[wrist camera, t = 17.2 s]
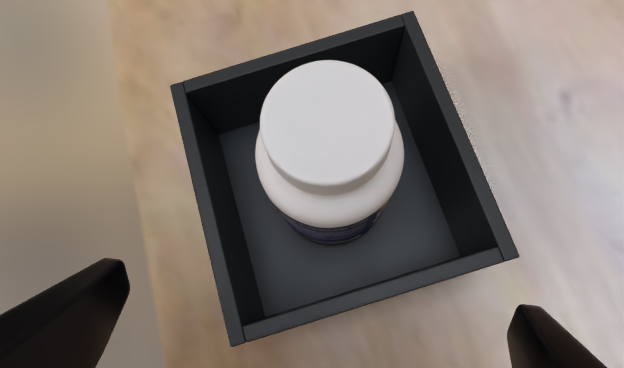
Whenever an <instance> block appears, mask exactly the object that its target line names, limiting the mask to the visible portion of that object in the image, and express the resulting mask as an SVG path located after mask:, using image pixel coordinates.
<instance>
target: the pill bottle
mask: <svg viewBox="0 0 624 368" xmlns="http://www.w3.org/2000/svg"><path fill="white" fill-rule="evenodd" d="M255 160H256V167H257V171H258V175H259V179H260V181H261V183H262V186H263V188H264V190H265V192H266V193H267V195H268V197H269V199H270V200H271V201H272V203H273V204H274V205H275V206H276V208H277V209H278V210H279V212H280V213H281V214H282V216H283V217H284V218H285V220H286V221H287V223H288V224H289V225H290V226H291V227H292V228H293V230H295V231H296V232H297V233H298V234H299V235H301V236H302V237H304V238H305V239H307V240H309V241H311V242H314V243H317V244H320V245H326V246H337V245H343V244H347V243H350V242H353V241H355V240H357V239H359V238H360V237H362V236H363V235H365V234H366V233H367V232H368V231H369V230H370V229H371V228H372V227H373V226H374V225H375V224H376V222H377V221H378V219H379V218H380V216H381V214H382V212H383V211H384V209H385V208H386V206H387V204H388V202H389V200H390V198H391V196H392V194H393V193H394V191H395V189H396V187H397V185H398V182H399V179H400V176H401V173H402V170H403V163H404V146H403V140H402V136H401V133H400V130H399V127H398V125H397V122H396V120H395V115H394V109H393V106H392V102H391V100H390V98H389V95H388V94H387V92H386V90H385V89H384V87H383V86H382V85H381V84H380V82H379V81H378V80H377V79H376V78H375V77H374V76H372V75H371V74H370V73H368V72H367V71H366V70H364V69H362V68H360V67H358V66H356V65H353V64H350V63H347V62H343V61H337V60H321V61H314V62H310V63H307V64H304V65H301V66H299V67H297V68H295V69H293V70H291V71H290V72H288V73H287V74H285V75H284V76H283V77H282V78H281V79H279V80H278V82H277V83H276V84H275V85H274V86H273V87H272V89H271V90H270V92H269V93H268V95H267V97H266V99H265V101H264V103H263V106H262V110H261V115H260V130H259V133H258V137H257V141H256V149H255Z"/></svg>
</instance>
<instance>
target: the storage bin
mask: <svg viewBox="0 0 624 368" xmlns="http://www.w3.org/2000/svg"><path fill="white" fill-rule="evenodd" d="M321 60H337V61H343V62H347V63H350V64H353V65H356V66H358V67H360V68H362V69H364V70H366V71H367V72H368V73H370V74H371V75H372V76H374V77H375V78H376V79H377V80H378V81H379V82H380V84H381V85H382V86H383V87H384V89H385V90H386V92H387V94H388V95H389V98H390V100H391V102H392V106H393V109H394V115H395V120H396V122H397V125H398V127H399V130H400V133H401V136H402V140H403V146H404V163H403V170H402V173H401V176H400V179H399V182H398V185H397V187H396V189H395V191H394V193H393V194H392V196H391V198H390V200H389V202H388V204H387V206H386V208H385V209H384V211H383V212H382V214H381V216H380V218H379V219H378V221H377V222H376V224H375V225H374V226H373V227H372V228H371V229H370V230H369V231H368V232H367V233H366V234H365V235H363V236H362V237H360V238H359V239H357V240H355V241H353V242H350V243H347V244H343V245H337V246H326V245H320V244H317V243H314V242H311V241H309V240H307V239H305V238H304V237H302V236H301V235H299V234H298V233H297V232H296V231H295V230H293V228H292V227H291V226H290V225H289V224H288V223H287V221H286V220H285V218H284V217H283V216H282V214H281V213H280V212H279V210H278V209H277V208H276V206H275V205H274V204H273V203H272V201H271V200H270V199H269V197H268V195H267V193H266V192H265V190H264V188H263V186H262V183H261V181H260V179H259V175H258V171H257V167H256V160H255V149H256V141H257V137H258V133H259V130H260V115H261V110H262V106H263V103H264V101H265V99H266V97H267V95H268V93H269V92H270V90H271V89H272V87H273V86H274V85H275V84H276V83H277V82H278V80H279V79H281V78H282V77H283V76H284V75H285V74H287V73H288V72H290V71H291V70H293V69H295V68H297V67H299V66H301V65H304V64H307V63H310V62H314V61H321ZM170 88H171V92H172V96H173V101H174V105H175V109H176V114H177V118H178V122H179V127H180V131H181V135H182V140H183V144H184V148H185V153H186V157H187V161H188V165H189V170H190V174H191V178H192V183H193V187H194V191H195V196H196V200H197V204H198V209H199V213H200V217H201V221H202V226H203V230H204V234H205V239H206V243H207V247H208V252H209V256H210V260H211V265H212V269H213V273H214V278H215V282H216V286H217V290H218V295H219V299H220V303H221V308H222V312H223V316H224V321H225V325H226V329H227V334H228V338H229V342H230V346H231V347H234V346H237V345H240V344H244V343H246V342H250V341H253V340H256V339H260V338H263V337H266V336H269V335H272V334H276V333H279V332H282V331H285V330H288V329H292V328H295V327H298V326H301V325H304V324H307V323H311V322H314V321H317V320H320V319H323V318H327V317H330V316H333V315H336V314H339V313H343V312H346V311H349V310H352V309H355V308H358V307H362V306H365V305H368V304H371V303H374V302H378V301H381V300H384V299H387V298H390V297H394V296H397V295H400V294H403V293H406V292H409V291H413V290H416V289H419V288H422V287H425V286H429V285H432V284H435V283H438V282H441V281H445V280H448V279H451V278H454V277H457V276H460V275H464V274H467V273H470V272H473V271H476V270H480V269H483V268H486V267H489V266H492V265H496V264H499V263H502V262H505V261H508V260H512V259H515V258H518V257H519V254H518V252H517V249H516V247H515V245H514V242H513V240H512V238H511V235H510V233H509V231H508V228H507V226H506V224H505V222H504V219H503V217H502V215H501V212H500V210H499V208H498V205H497V203H496V201H495V198H494V196H493V194H492V191H491V189H490V187H489V185H488V182H487V180H486V178H485V175H484V173H483V171H482V168H481V166H480V164H479V161H478V159H477V157H476V155H475V152H474V150H473V148H472V145H471V143H470V141H469V138H468V136H467V134H466V131H465V129H464V127H463V124H462V122H461V120H460V118H459V115H458V113H457V111H456V108H455V106H454V104H453V101H452V99H451V97H450V94H449V92H448V90H447V88H446V85H445V83H444V81H443V78H442V76H441V74H440V71H439V69H438V67H437V64H436V62H435V60H434V57H433V55H432V53H431V51H430V48H429V46H428V44H427V41H426V39H425V37H424V34H423V32H422V30H421V27H420V25H419V23H418V21H417V18H416V16H415V14H414V11H411V12H408V13H404V14H401V15H398V16H394V17H391V18H388V19H385V20H381V21H378V22H375V23H372V24H368V25H365V26H362V27H359V28H355V29H352V30H349V31H345V32H342V33H339V34H336V35H332V36H329V37H326V38H323V39H319V40H316V41H313V42H310V43H306V44H303V45H300V46H297V47H293V48H290V49H287V50H283V51H280V52H277V53H274V54H270V55H267V56H264V57H261V58H257V59H254V60H251V61H248V62H244V63H241V64H238V65H235V66H231V67H228V68H225V69H221V70H218V71H215V72H212V73H208V74H205V75H202V76H199V77H195V78H192V79H189V80H186V81H183V82H180V83H177V84H173V85H171V86H170Z"/></svg>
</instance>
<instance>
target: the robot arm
mask: <svg viewBox="0 0 624 368" xmlns="http://www.w3.org/2000/svg"><path fill="white" fill-rule="evenodd" d="M129 291H130V284H129V280H128V276H127V272H126V268H125V265H124V263H123V261H121V260H119V259H111V258H104V259H102V260H100V261H98V262H96V263H94V264H92V265H90V266H89V267H87V268H85V269H83V270H81V271H80V272H78V273H76V274H74V275H72V276H70V277H69V278H67V279H65V280H63V281H61V282H59V283H58V284H56V285H54V286H52V287H50V288H49V289H47V290H45V291H43V292H41V293H39V294H38V295H36V296H34V297H32V298H30V299H28V300H27V301H25V302H23V303H21V304H19V305H18V306H16V307H14V308H12V309H10V310H8V311H7V312H5V313H3V314H1V315H0V368H95V367H96V365H97V363H98V361H99V359H100V358H101V356H102V354H103V352H104V349H105V347H106V345H107V343H108V341H109V339H110V336H111V334H112V332H113V330H114V327H115V325H116V323H117V320H118V318H119V316H120V314H121V311H122V309H123V307H124V304H125V302H126V300H127V298H128V295H129ZM507 341H508V347H509V352H510V358H511V364H512V368H607V367H606V366H605V365H604V364H603V363H602V362H600V361H599V360H598V359H597V358H596V357H595V356H594V355H593V354H592V353H591V352H590V351H588V350H587V349H586V348H585V347H584V346H583V345H582V344H581V343H580V342H579V341H578V340H576V339H575V338H574V337H573V336H572V335H571V334H570V333H569V332H568V331H567V330H565V329H564V328H563V327H562V326H561V325H560V324H559V323H558V322H557V321H556V320H555V319H553V318H552V317H551V316H550V315H549V314H548V313H547V312H546V311H545V310H544V309H542V308H541V307H539V306H534V305H525V304H521V305H519V306H518V307H517V308H516V311H515V313H514V316H513V318H512V321H511V323H510V325H509V328H508V332H507Z"/></svg>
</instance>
